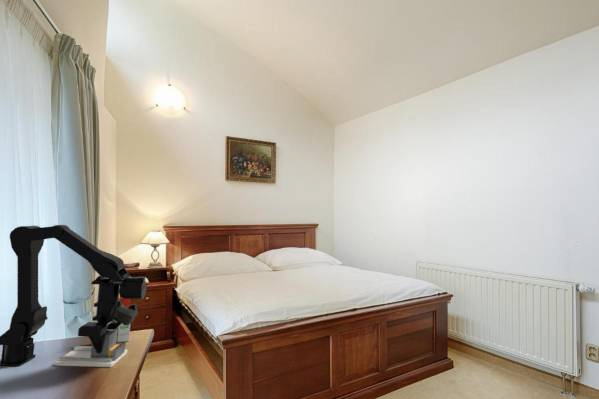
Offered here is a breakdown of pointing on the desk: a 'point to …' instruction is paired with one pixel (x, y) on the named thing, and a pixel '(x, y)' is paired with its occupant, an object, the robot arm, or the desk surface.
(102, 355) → the block
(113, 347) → the bar
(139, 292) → the robot arm
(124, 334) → the ink box
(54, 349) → the desk surface
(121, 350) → the rail plate
